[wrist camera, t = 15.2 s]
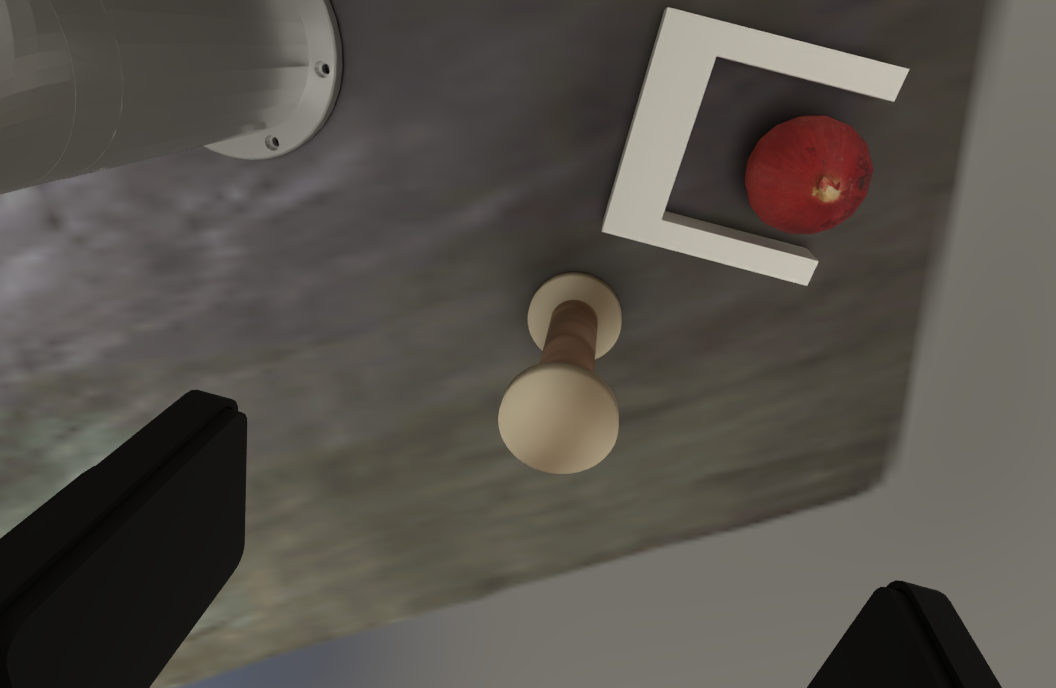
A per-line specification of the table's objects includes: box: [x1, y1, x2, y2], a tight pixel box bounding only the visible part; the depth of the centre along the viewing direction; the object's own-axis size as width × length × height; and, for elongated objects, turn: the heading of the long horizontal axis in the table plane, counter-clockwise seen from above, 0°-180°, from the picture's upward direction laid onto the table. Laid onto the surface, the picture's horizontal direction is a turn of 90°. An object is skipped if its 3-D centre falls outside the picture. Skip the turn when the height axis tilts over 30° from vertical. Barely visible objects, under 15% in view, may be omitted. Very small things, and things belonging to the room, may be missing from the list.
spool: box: [498, 272, 622, 474], centre depth 34 cm, size 6×6×13 cm
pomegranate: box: [744, 116, 873, 234], centre depth 31 cm, size 6×6×8 cm
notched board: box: [602, 7, 909, 286], centre depth 33 cm, size 12×12×2 cm
